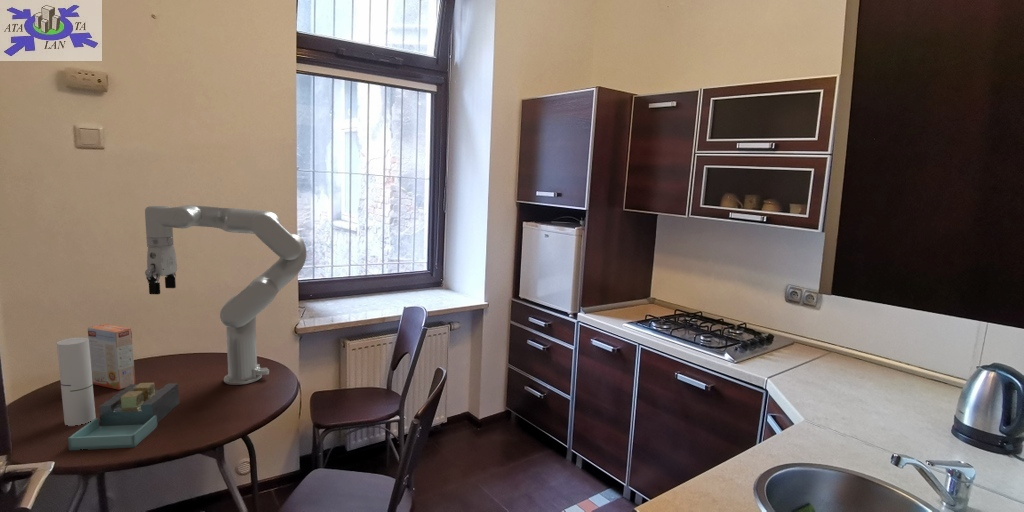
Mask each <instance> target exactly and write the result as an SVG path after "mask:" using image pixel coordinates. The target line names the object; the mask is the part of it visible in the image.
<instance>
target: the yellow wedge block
mask: <svg viewBox="0 0 1024 512" xmlns="http://www.w3.org/2000/svg"><path fill="white" fill-rule="evenodd" d="M155 390H156V387H155V382H140V383H138V385H137V386H135V387H134V388H133V391H143V396H144V400H148V399H149V398H150V397H151V396H153V395H154V394H155Z"/></svg>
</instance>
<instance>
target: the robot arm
mask: <svg viewBox="0 0 1024 512" xmlns="http://www.w3.org/2000/svg"><path fill="white" fill-rule="evenodd" d="M144 219H145V220H144V221H145V235H146V237H145V238H146V247H147V255H146V259H147V260H146V264H147V265H146V268H147V269H146V270H145V272H144V274H145V278H146V280H147V284H148V293H149V295H160V294H161V285H160V283H161V282H159V280H160V278H161V277H164V284H165V285H164V287H165V288H166V289H176V288H177V286H176V285H177V284H176V277H177V274H176V273H177V272H178V264H177V256H176V249H175V246H174V231H173V230H174V229H175V228H176V229H182V230H183V229H188V228H191V227H201V228H202V227H203V228H204V227H205V228H214V229H215V228H216V229H219V230H222V231H224V232H227V233H237V234H251V235H252V234H253V235H255V236H256V237H257V238H258V239H259V240H260V241H261V242H262V243H264V245H266V246H267V247H268V248H269V249H270V250H271V251H272V252H273V253H274V254H275V255H276V256H277V257H279V259H278V260H276V262H274V263H273V264H272V265H271V266H270V267H269V268H267V270H265V271H264V272H263V273H262V274H260V275H259V276H258V277H256V278H254V279H253V280H252V281H251V282H250V283H249V284H248V285H247V286H246V287H244V288H243V290H241V291H240V292H239V293H237V294H236V295H234V296H232V297H230V298H229V299H228V301H227V302H226V303H225V304H224V305H223V306H222V308H221V309H220V312H219V318H220V321H221V323H222V325H224V326H225V327H226V349H227V350H226V351H227V373H228V374H226V375H225V376H224V378H223V383H225V384H227V385H229V386H230V385H231V386H238V385H239V386H240V385H247V384H252V383H255V382H257V381H259V380H260V379H261V378H262V377H263V375H264V376H265V375H267V376H268V375H270V369H268V367H261V366H260V363H258V357H257V356H258V355H257V329H256V328H257V316H258V315H259V314H260V313H261V312H263V310H265V309H266V308H267V307H268V306H270V304H271V303H272V302H273V301H274V300H275V298H276V296H277V294H278V293H279V292H280V291H281V290H282V289H283V288H284V287H286V286H287V285H288V284H289V283H290V282H291V281H292V280H294V278H295V277H296V276H297V275H298V274H299V273H300V272H301V270H302V269H303V268H304V266H305V263H306V260H307V247H306V244H305V241H304V240H303V238H302V237H301V236H300V235H298V234H295V233H291V232H289V231H288V230H287V229H286V228H285V227H284V226H282V225H281V224H280V218H279V217H278V215H277V214H276V213H274V212H271V211H268V210H254V209H242V208H233V207H231V208H230V207H218V206H217V207H215V206H205V205H194V204H189V205H188V204H187V205H182V206H181V205H180V206H174V207H170V206H165V205H150V206H146V208H145V209H144Z"/></svg>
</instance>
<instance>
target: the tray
mask: <svg viewBox="0 0 1024 512" xmlns="http://www.w3.org/2000/svg"><path fill="white" fill-rule="evenodd" d="M157 427H158V423H157V416H153V417H152V418H151V419H150V420H149V421H147V422H146V423H145V424H144V425H120V426H101V425H100V417H96V418H95V419H94V420H92V421H91V422H89V423H86V424H85V425H84V426H83V427H81V428H80V429H79V430H77V431H76V432H74V433H72V434H71V435H70V436H69V437H67V440H68V441H67V442H68V444H67V445H68V450H69V451H81V450H80V449H82V451H83V449H88V450H103V449H104V450H105V449H106V450H107V449H126V448H127V449H128V448H136V447H137V446H138V445H139V444H140V443H141V442H142V441H143V440H144V439H145V438H147V437H148V436H149V435H150V434H151V433H152V432H154V431H155V429H156V428H157Z"/></svg>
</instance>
